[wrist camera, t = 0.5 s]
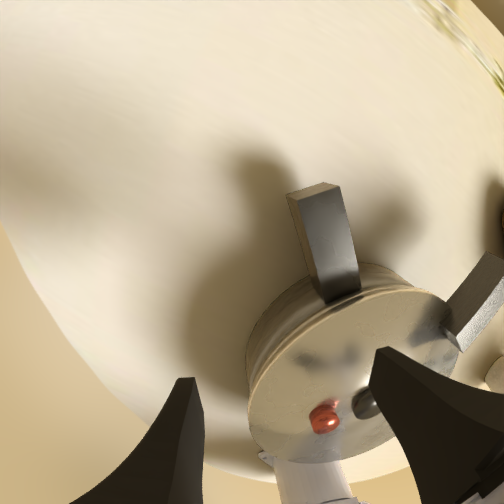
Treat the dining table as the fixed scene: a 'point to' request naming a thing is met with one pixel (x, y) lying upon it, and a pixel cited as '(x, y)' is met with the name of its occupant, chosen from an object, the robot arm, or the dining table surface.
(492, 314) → the lid
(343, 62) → the dining table surface
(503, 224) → the potato
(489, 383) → the house plant
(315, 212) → the pot
